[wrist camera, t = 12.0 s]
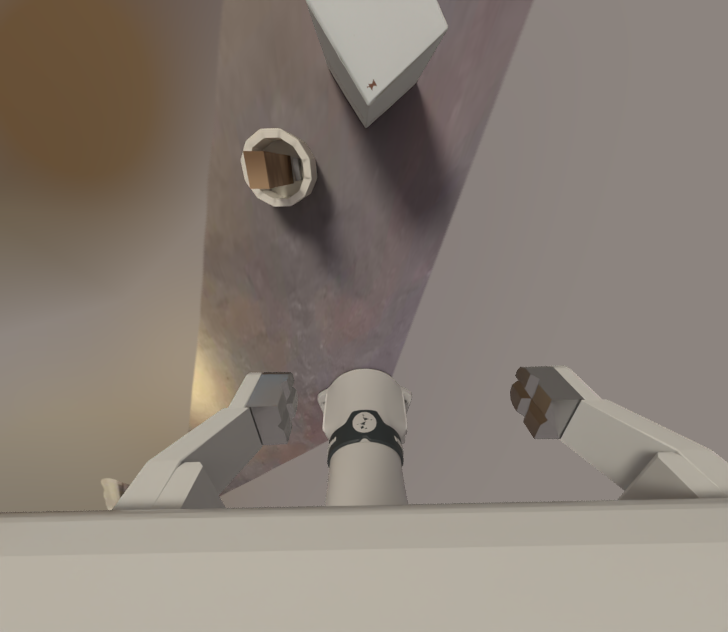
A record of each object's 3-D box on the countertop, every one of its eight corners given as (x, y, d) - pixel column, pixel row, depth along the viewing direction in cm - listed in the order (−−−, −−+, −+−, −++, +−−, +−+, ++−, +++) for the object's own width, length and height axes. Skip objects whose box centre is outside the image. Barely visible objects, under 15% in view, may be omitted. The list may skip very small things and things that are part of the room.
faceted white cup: (319, 201, 35) (314, 205, 31) (263, 202, 35) (250, 207, 31) (312, 132, 31) (305, 127, 28) (249, 134, 32) (234, 129, 28)
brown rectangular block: (293, 183, 33) (269, 188, 25) (279, 183, 33) (250, 188, 24) (290, 155, 32) (263, 151, 23) (275, 155, 32) (242, 150, 23)
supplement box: (418, 82, 29) (452, 31, 18) (365, 130, 31) (366, 110, 20) (381, 5, 26) (395, -112, 15) (325, 63, 28) (301, -3, 17)
